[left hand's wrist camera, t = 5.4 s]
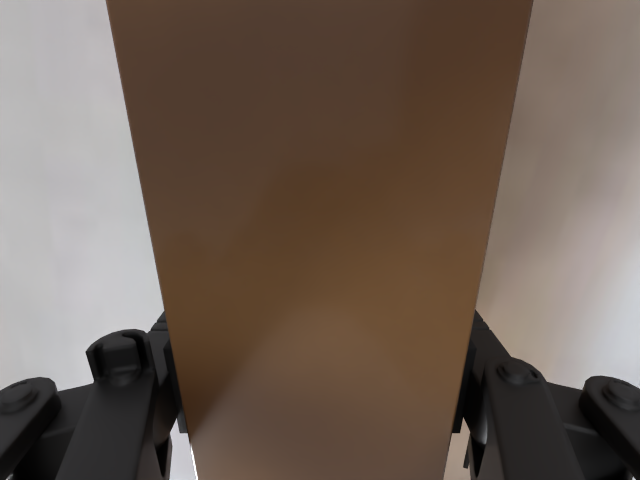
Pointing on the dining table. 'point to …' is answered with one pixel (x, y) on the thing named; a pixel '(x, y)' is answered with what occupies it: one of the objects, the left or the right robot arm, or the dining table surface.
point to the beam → (319, 218)
